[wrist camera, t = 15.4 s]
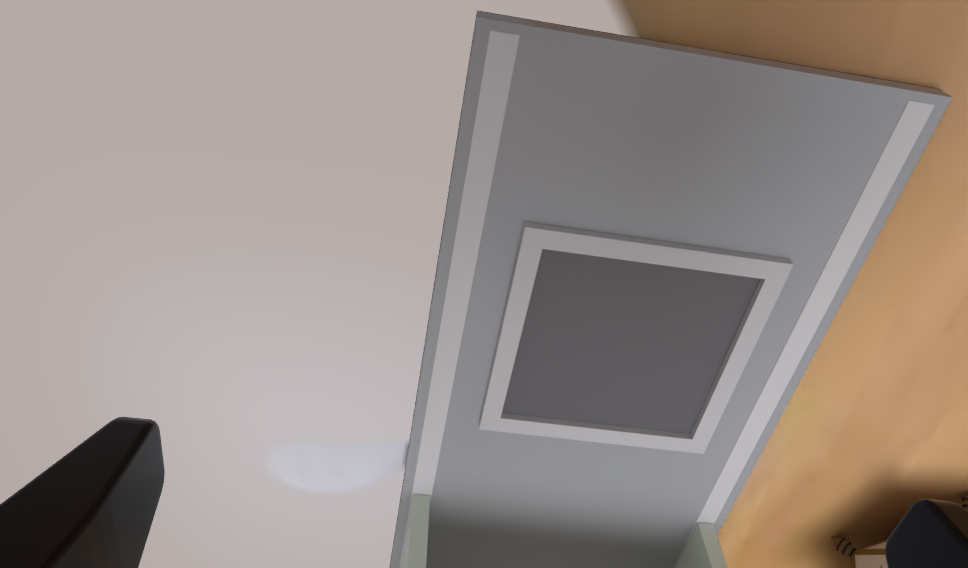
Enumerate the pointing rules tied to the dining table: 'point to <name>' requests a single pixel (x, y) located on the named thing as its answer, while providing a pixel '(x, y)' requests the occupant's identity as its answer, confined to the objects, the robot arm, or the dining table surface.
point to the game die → (870, 550)
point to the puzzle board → (634, 285)
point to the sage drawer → (697, 564)
